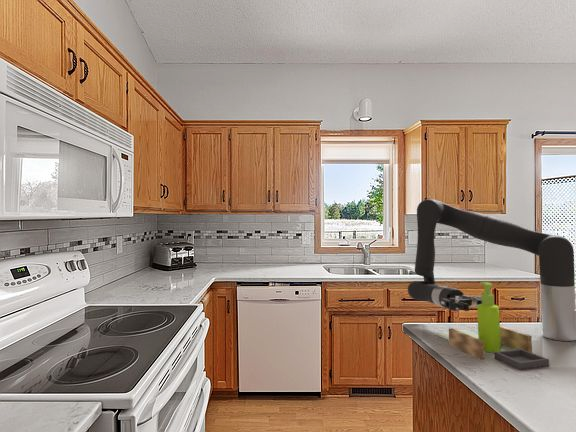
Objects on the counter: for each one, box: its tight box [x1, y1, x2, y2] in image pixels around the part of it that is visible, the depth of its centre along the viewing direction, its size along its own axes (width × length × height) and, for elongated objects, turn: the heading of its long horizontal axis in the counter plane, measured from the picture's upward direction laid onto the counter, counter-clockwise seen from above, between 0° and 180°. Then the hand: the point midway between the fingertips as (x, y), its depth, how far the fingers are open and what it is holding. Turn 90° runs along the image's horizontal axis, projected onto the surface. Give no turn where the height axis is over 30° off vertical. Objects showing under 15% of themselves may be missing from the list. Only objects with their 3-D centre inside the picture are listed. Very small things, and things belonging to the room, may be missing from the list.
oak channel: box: [448, 325, 533, 360], centre depth 117 cm, size 14×17×5 cm
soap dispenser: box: [476, 281, 502, 353], centre depth 117 cm, size 6×7×20 cm
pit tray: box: [493, 349, 550, 371], centre depth 106 cm, size 9×9×2 cm
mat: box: [433, 329, 478, 342], centre depth 130 cm, size 11×13×1 cm
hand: (479, 306), depth 121 cm, fingers open, 8 cm apart
